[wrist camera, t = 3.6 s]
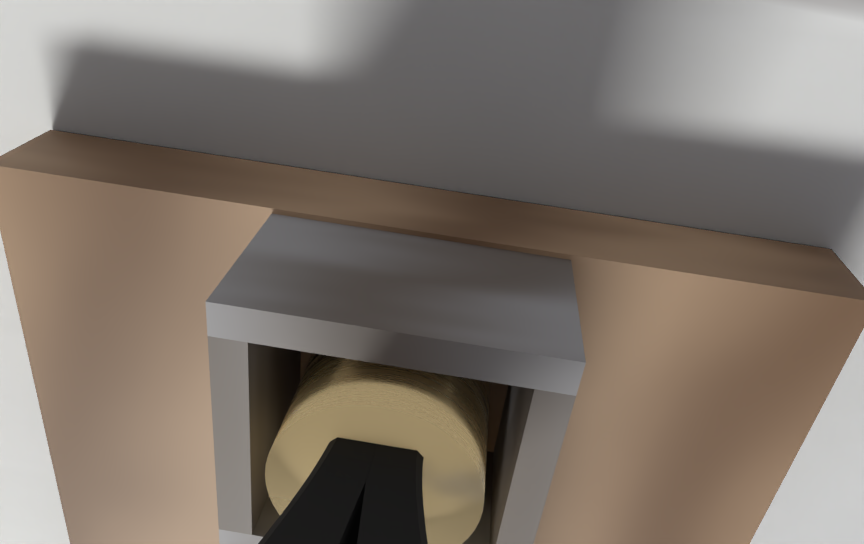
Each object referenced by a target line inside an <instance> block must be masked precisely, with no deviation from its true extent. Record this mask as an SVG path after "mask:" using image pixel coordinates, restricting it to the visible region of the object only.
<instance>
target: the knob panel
mask: <svg viewBox="0 0 864 544" xmlns="http://www.w3.org/2000/svg"><path fill="white" fill-rule="evenodd" d="M0 231H1V236H2V240H3V245H4V249H5V253H6V258H7V262H8V267H9V271H10V276H11V280H12V285H13V289H14V294H15V298H16V303H17V307H18V312H19V316H20V321H21V325H22V329H23V334H24V338H25V343H26V347H27V352H28V356H29V361H30V365H31V370H32V374H33V379H34V383H35V388H36V392H37V397H38V401H39V406H40V410H41V414H42V419H43V423H44V428H45V432H46V437H47V441H48V446H49V450H50V455H51V459H52V464H53V468H54V473H55V477H56V482H57V486H58V490H59V495H60V499H61V504H62V508H63V513H64V517H65V522H66V526H67V531H68V535H69V540H70V544H258V543H259V542H260V541H261V539H262V538H263V537H264V535H265V534H266V533H267V532H268V530H269V529H270V528H271V527H272V525H273V524H274V523H275V521H276V520H277V519H278V518H279V516H280V515H279V513H278V512H277V510H276V509H275V507H274V505H273V504H272V501H271V499H270V497H269V494H268V491H267V487H266V481H265V467H266V461H267V458H268V454H269V452H270V450H271V447H272V445H273V443H274V441H275V438H276V436H277V434H278V431H279V429H280V427H281V425H282V422H283V420H284V418H285V415H286V413H287V411H288V409H289V406H290V404H291V402H292V399H293V397H294V395H295V393H296V390H297V388H298V386H299V383H300V381H301V379H302V377H303V374H304V372H305V370H306V367H307V365H308V363H309V361H310V358H311V356H312V354H313V353H315V354H321V355H327V356H334V357H340V358H346V359H352V360H358V361H364V362H371V363H377V364H383V365H389V366H395V367H401V368H407V369H414V370H420V371H426V372H432V373H438V374H444V375H450V376H457V377H463V378H469V379H475V380H481V381H487V382H491V383H490V402H489V420H488V439H487V457H486V476H485V494H484V506H483V512H482V515H481V518H480V521H479V523H478V525H477V527H476V529H475V530H474V532H473V533H472V534H471V535H470V537H469V538H468V539H467V540H466V541H465V542H464V543H462V544H750V542H751V540H752V538H753V536H754V534H755V532H756V530H757V528H758V527H759V525H760V523H761V521H762V519H763V517H764V515H765V513H766V511H767V510H768V508H769V506H770V504H771V502H772V500H773V498H774V496H775V494H776V493H777V491H778V489H779V487H780V485H781V483H782V481H783V479H784V477H785V476H786V474H787V472H788V470H789V468H790V466H791V464H792V462H793V460H794V459H795V457H796V455H797V453H798V451H799V449H800V447H801V445H802V443H803V442H804V440H805V438H806V436H807V434H808V432H809V430H810V428H811V426H812V425H813V423H814V421H815V419H816V417H817V415H818V413H819V411H820V409H821V408H822V406H823V404H824V402H825V400H826V398H827V396H828V394H829V392H830V391H831V389H832V387H833V385H834V383H835V381H836V379H837V377H838V375H839V374H840V372H841V370H842V368H843V366H844V364H845V362H846V360H847V358H848V357H849V355H850V353H851V351H852V349H853V347H854V345H855V343H856V341H857V339H858V338H859V336H860V334H861V332H862V330H863V328H864V287H863V285H862V284H861V283H860V282H859V281H858V280H857V278H856V277H855V276H854V275H853V274H852V273H851V272H850V270H849V269H848V268H847V267H846V266H845V265H844V263H843V262H842V261H841V260H840V259H839V258H838V256H837V255H836V254H835V253H834V252H833V251H832V250H831V249H827V248H820V247H814V246H807V245H801V244H794V243H788V242H781V241H774V240H768V239H761V238H755V237H748V236H742V235H735V234H729V233H722V232H716V231H709V230H703V229H696V228H689V227H683V226H676V225H670V224H663V223H657V222H650V221H644V220H637V219H631V218H624V217H617V216H611V215H604V214H598V213H591V212H585V211H578V210H572V209H565V208H559V207H552V206H546V205H539V204H532V203H526V202H519V201H513V200H506V199H500V198H493V197H487V196H480V195H474V194H467V193H460V192H454V191H447V190H441V189H434V188H428V187H421V186H415V185H408V184H402V183H395V182H389V181H382V180H375V179H369V178H362V177H356V176H349V175H343V174H336V173H330V172H323V171H317V170H310V169H304V168H297V167H290V166H284V165H277V164H271V163H264V162H258V161H251V160H245V159H238V158H232V157H225V156H218V155H212V154H205V153H199V152H192V151H186V150H179V149H173V148H166V147H160V146H153V145H147V144H140V143H133V142H127V141H120V140H114V139H107V138H101V137H94V136H88V135H81V134H75V133H68V132H61V131H55V130H49V131H48V132H46V133H44V134H42V135H40V136H38V137H36V138H34V139H32V140H30V141H28V142H26V143H25V144H23V145H21V146H19V147H17V148H15V149H13V150H11V151H9V152H7V153H5V154H4V155H2V156H0Z"/></svg>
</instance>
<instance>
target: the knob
mask: <svg viewBox="0 0 864 544" xmlns="http://www.w3.org/2000/svg"><path fill="white" fill-rule="evenodd" d="M490 383H491V382H487V381H481V380H475V379H469V378H463V377H457V376H450V375H444V374H438V373H432V372H426V371H420V370H414V369H407V368H401V367H395V366H389V365H383V364H377V363H371V362H364V361H358V360H352V359H346V358H340V357H334V356H327V355H321V354H315V353H313V354H312V356H311V358H310V361H309V363H308V365H307V367H306V370H305V372H304V374H303V377H302V379H301V381H300V383H299V386H298V388H297V390H296V393H295V395H294V397H293V399H292V402H291V404H290V406H289V409H288V411H287V413H286V415H285V418H284V420H283V422H282V425H281V427H280V429H279V431H278V434H277V436H276V438H275V441H274V443H273V445H272V447H271V450H270V452H269V454H268V458H267V461H266V467H265V481H266V487H267V491H268V494H269V497H270V499H271V501H272V504H273V505H274V507H275V509H276V510H277V512H278V513H279V515H281V514H282V512H283V511H284V510H285V509H286V507H287V506H288V505H289V503H290V502H291V500H292V499H293V498H294V496H295V495H296V493H297V492H298V491H299V489H300V488H301V486H302V485H303V484H304V482H305V481H306V479H307V478H308V476H309V475H310V473H311V472H312V470H313V469H314V467H315V466H316V464H317V462H318V461H319V459H320V458H321V456H322V454H323V453H324V451H325V449H326V447H327V446H328V444H329V442H330V441H332V440H333V439H335V438H337V437H339V438H345V439H351V440H357V441H363V442H369V443H375V444H381V445H387V446H393V447H399V448H405V449H411V450H417V451H418V452H419V453H420V454H421V455H422V456H423V457H424V459H423V471H422V491H423V507H424V517H425V526H426V534H427V542H428V544H462V543H464V542H465V541H466V540H467V539H468V538H469V537H470V535H471V534H472V533H473V532H474V530H475V529H476V527H477V525H478V523H479V521H480V518H481V515H482V512H483V506H484V494H485V476H486V457H487V439H488V420H489V402H490Z"/></svg>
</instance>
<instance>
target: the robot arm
mask: <svg viewBox="0 0 864 544" xmlns="http://www.w3.org/2000/svg"><path fill="white" fill-rule="evenodd" d="M423 459H424V457H423V456H422V455H421V454H420V453H419V452H418V451H417V450H411V449H405V448H399V447H393V446H387V445H381V444H375V443H369V442H363V441H357V440H351V439H345V438H339V437H337V438H335V439H333V440H332V441H330V442H329V444H328V446H327V447H326V449H325V451H324V453H323V454H322V456H321V458H320V459H319V461H318V462H317V464H316V466H315V467H314V469H313V470H312V472H311V473H310V475H309V476H308V478H307V479H306V481H305V482H304V484H303V485H302V486H301V488H300V489H299V491H298V492H297V493H296V495H295V496H294V498H293V499H292V500H291V502H290V503H289V505H288V506H287V507H286V509H285V510H284V511H283V512H282V514H281V515H280V516H279V518H278V519H277V520H276V521H275V523H274V524H273V525H272V527H271V528H270V529H269V530H268V532H267V533H266V534H265V535H264V537H263V538H262V539H261V541H260V542H259V543H258V544H428V542H427V534H426V526H425V517H424V507H423V491H422V471H423Z"/></svg>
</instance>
